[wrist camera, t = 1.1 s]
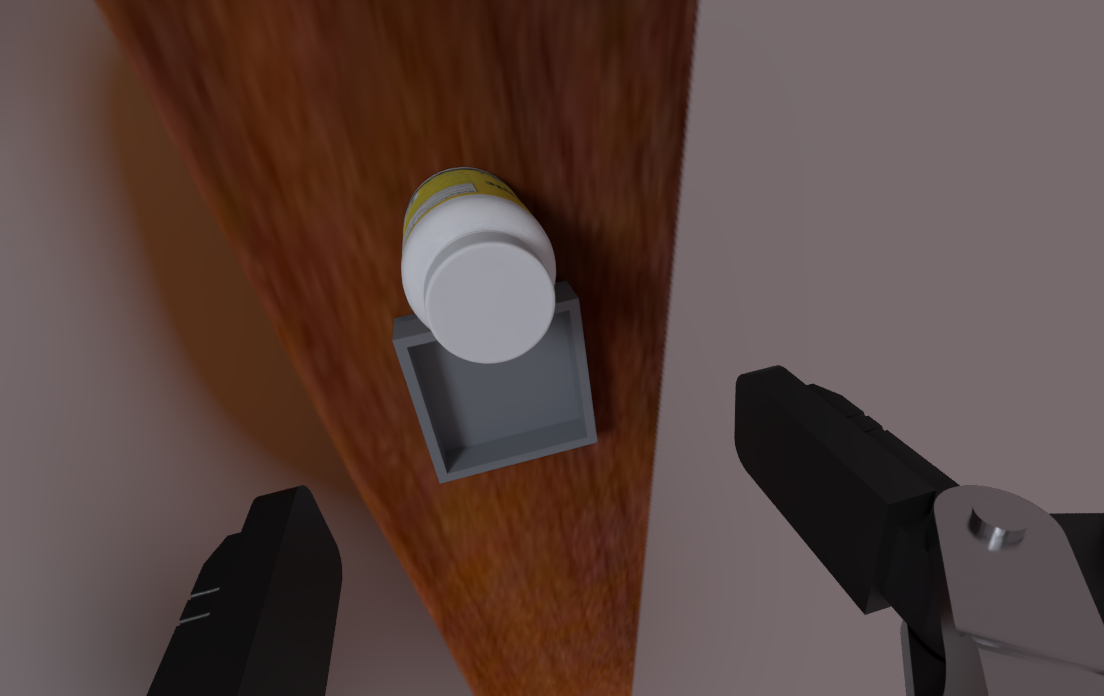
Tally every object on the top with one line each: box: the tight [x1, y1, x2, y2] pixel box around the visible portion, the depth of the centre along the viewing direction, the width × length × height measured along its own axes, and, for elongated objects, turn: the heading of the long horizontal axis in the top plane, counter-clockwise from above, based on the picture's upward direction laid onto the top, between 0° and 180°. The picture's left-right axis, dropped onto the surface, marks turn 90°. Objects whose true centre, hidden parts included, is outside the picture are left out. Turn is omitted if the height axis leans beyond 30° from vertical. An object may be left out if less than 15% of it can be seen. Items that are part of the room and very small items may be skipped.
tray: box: [393, 280, 597, 483], centre depth 27 cm, size 9×9×2 cm
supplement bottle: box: [401, 167, 556, 364], centre depth 20 cm, size 5×5×10 cm
